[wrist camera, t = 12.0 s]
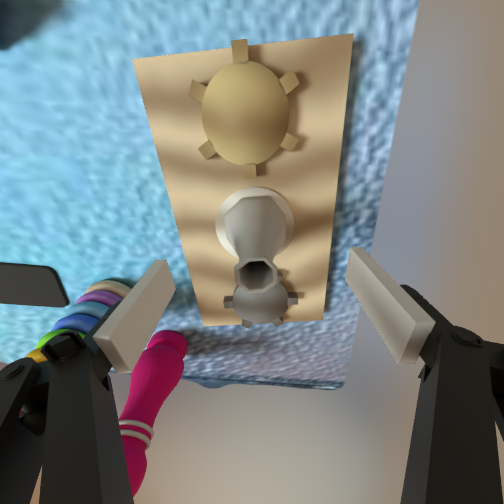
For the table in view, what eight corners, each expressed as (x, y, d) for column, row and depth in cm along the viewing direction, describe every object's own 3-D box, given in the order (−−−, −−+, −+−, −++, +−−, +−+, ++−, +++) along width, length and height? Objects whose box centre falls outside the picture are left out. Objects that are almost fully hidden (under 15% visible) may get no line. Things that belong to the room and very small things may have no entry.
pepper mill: (174, 322, 33) (83, 527, 15) (199, 349, 36) (146, 546, 18) (139, 335, 35) (20, 535, 17) (165, 360, 38) (87, 552, 20)
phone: (68, 308, 31) (-35, 301, 31) (72, 304, 32) (-28, 298, 32) (50, 267, 28) (-66, 259, 27) (56, 264, 29) (-58, 256, 28)
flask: (295, 241, 24) (319, 298, 15) (239, 262, 26) (232, 324, 17) (274, 183, 21) (288, 211, 12) (212, 209, 22) (185, 252, 14)
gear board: (140, 65, 18) (123, 53, 16) (346, 41, 17) (360, 25, 15) (205, 318, 33) (202, 332, 30) (319, 312, 32) (325, 326, 29)
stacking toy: (141, 280, 29) (-6, 458, 13) (147, 320, 33) (39, 499, 16) (84, 274, 29) (-145, 450, 12) (96, 316, 33) (-66, 493, 16)
